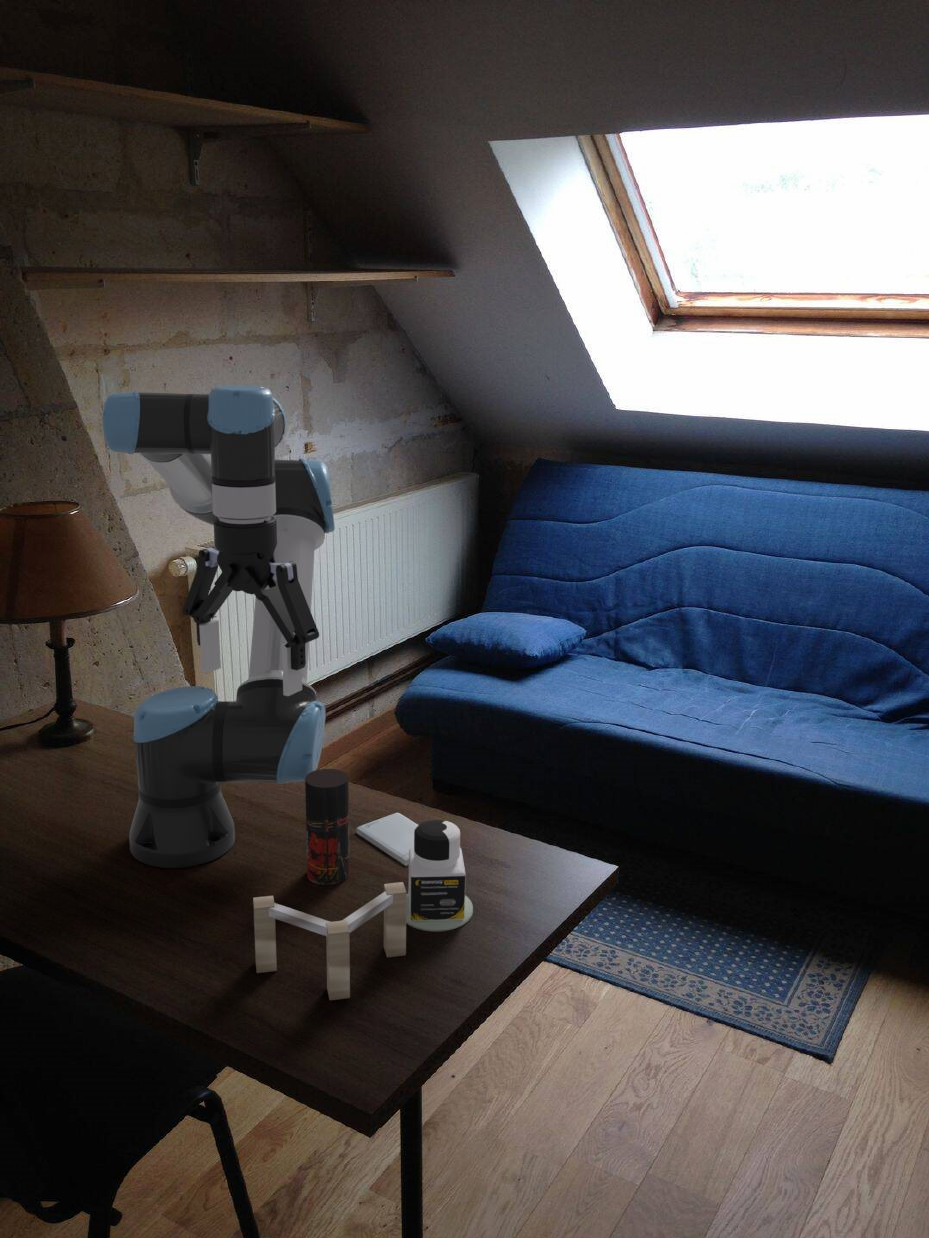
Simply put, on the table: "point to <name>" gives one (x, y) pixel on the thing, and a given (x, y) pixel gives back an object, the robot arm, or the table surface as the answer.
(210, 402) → the robot arm
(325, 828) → the deodorant
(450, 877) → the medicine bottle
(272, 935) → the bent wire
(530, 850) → the table surface
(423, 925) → the pad
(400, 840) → the hard drive
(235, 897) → the table surface
